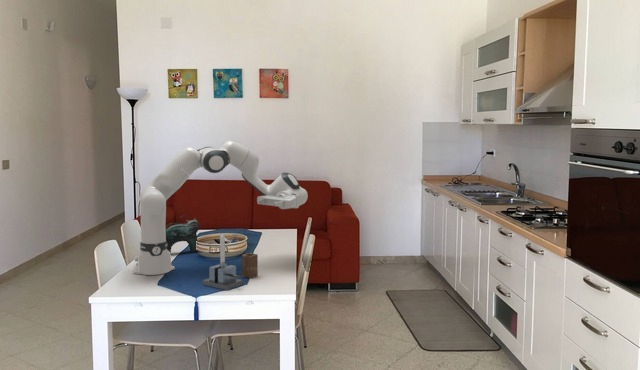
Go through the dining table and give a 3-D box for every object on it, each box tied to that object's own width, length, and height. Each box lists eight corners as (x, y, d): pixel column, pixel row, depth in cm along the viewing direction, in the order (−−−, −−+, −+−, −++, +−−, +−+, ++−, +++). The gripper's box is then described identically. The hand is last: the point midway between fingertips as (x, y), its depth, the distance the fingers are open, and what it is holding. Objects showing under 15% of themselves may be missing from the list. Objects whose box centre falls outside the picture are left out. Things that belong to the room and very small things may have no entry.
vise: (202, 284, 243) (202, 234, 241) (219, 279, 252) (218, 230, 249) (232, 291, 234) (231, 239, 231) (248, 285, 242) (247, 235, 240)
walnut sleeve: (241, 276, 256) (241, 255, 255) (249, 274, 260) (249, 252, 259) (250, 278, 253) (250, 256, 252) (257, 275, 257) (257, 254, 256)
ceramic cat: (197, 249, 306) (197, 213, 304) (201, 252, 301) (201, 215, 298) (161, 254, 295) (160, 216, 293) (164, 257, 290) (164, 218, 288)
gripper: (267, 191, 280) (249, 194, 268) (301, 195, 268) (283, 198, 257) (267, 204, 280) (249, 207, 269) (301, 208, 269) (283, 212, 258)
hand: (266, 203), depth 263 cm, fingers open, 8 cm apart
